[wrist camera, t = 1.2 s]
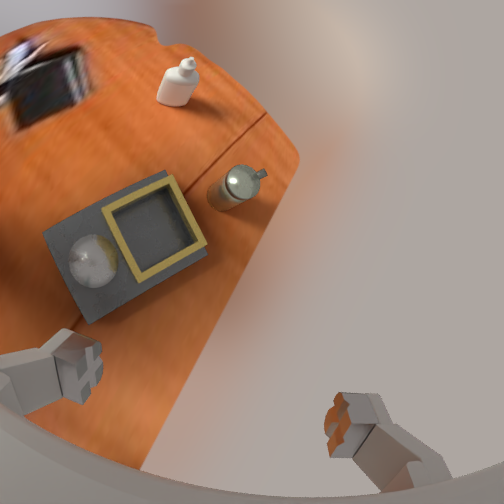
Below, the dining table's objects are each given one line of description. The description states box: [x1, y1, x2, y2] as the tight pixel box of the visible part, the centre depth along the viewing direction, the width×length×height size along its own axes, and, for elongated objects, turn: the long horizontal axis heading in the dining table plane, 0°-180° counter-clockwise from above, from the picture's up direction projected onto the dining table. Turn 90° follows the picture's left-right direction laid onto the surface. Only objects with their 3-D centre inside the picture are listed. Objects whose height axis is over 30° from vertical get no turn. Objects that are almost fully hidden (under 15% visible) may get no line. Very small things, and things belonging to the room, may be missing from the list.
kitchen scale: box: [42, 170, 208, 325], centre depth 39 cm, size 20×14×6 cm
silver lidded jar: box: [207, 165, 268, 211], centre depth 46 cm, size 5×7×9 cm
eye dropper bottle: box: [157, 57, 199, 106], centre depth 41 cm, size 4×6×12 cm
